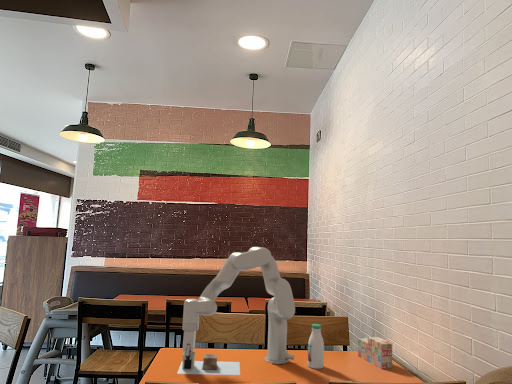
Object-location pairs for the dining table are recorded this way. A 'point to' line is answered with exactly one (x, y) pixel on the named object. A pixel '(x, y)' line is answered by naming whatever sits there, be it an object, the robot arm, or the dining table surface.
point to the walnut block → (210, 361)
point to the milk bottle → (316, 348)
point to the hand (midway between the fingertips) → (188, 366)
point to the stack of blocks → (376, 351)
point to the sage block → (191, 358)
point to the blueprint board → (221, 369)
